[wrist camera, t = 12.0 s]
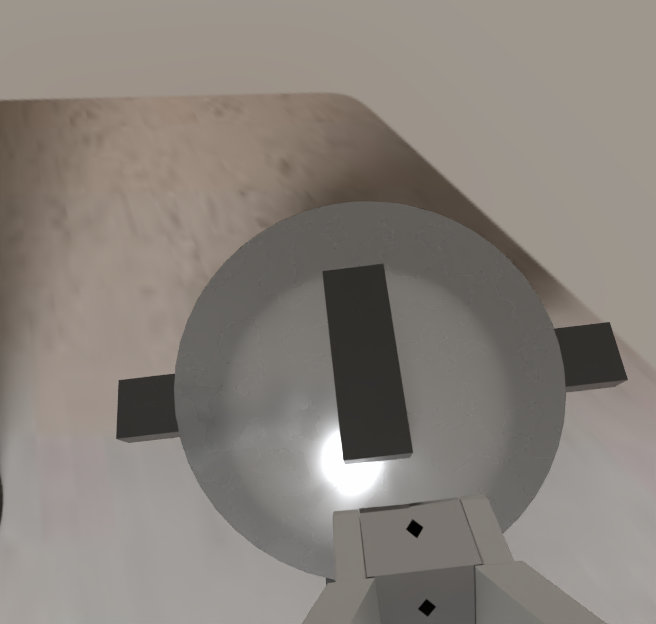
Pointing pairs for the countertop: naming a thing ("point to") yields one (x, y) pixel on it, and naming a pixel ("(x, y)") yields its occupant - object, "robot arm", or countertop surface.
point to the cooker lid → (365, 376)
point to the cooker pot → (575, 342)
